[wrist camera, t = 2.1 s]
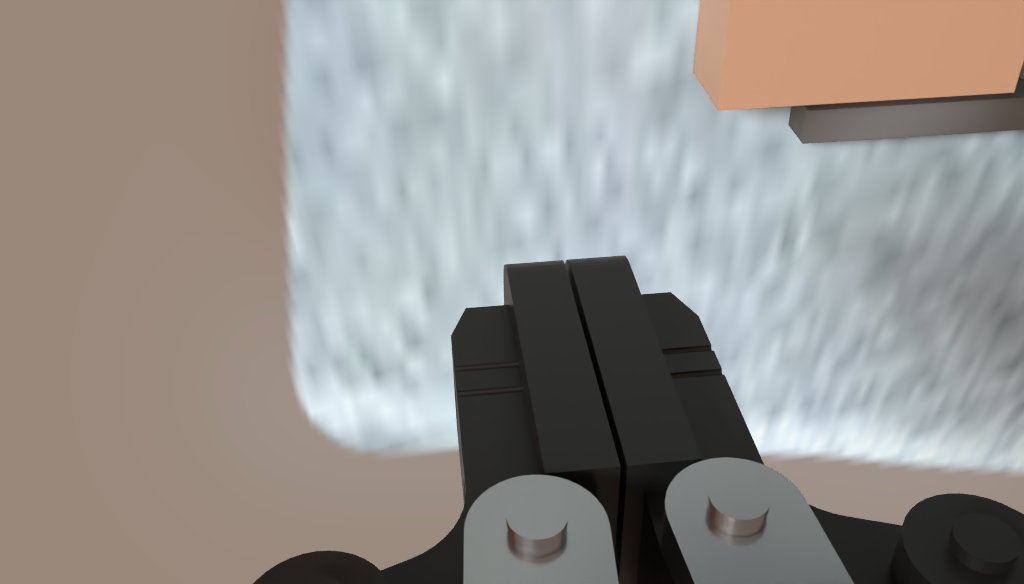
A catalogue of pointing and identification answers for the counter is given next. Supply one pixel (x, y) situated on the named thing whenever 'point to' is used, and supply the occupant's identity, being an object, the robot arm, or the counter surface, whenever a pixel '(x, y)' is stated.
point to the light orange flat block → (855, 50)
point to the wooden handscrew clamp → (909, 117)
